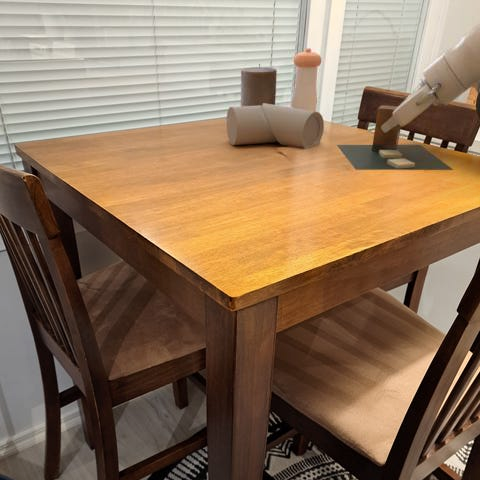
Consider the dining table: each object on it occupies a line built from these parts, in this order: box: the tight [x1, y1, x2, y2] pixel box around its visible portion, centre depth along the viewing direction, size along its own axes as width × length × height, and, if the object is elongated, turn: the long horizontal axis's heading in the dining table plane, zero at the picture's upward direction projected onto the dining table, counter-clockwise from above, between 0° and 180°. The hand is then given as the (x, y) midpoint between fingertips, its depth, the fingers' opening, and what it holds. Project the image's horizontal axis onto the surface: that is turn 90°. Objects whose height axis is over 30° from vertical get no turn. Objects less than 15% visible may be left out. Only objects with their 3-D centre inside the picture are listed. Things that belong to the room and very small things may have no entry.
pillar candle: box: [240, 63, 278, 106], centre depth 135 cm, size 10×10×15 cm
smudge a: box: [379, 150, 402, 158], centre depth 108 cm, size 4×4×1 cm
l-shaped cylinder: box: [226, 103, 325, 149], centre depth 116 cm, size 18×10×20 cm
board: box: [336, 144, 454, 171], centre depth 108 cm, size 20×20×1 cm
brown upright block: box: [371, 104, 402, 152], centre depth 110 cm, size 5×4×9 cm
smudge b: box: [387, 158, 415, 169], centre depth 102 cm, size 4×4×1 cm
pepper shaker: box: [291, 47, 322, 112], centre depth 130 cm, size 7×7×19 cm
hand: (385, 127), depth 110 cm, fingers closed on brown upright block, 4 cm apart
